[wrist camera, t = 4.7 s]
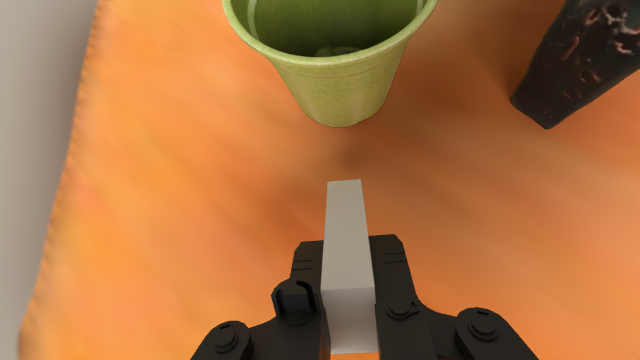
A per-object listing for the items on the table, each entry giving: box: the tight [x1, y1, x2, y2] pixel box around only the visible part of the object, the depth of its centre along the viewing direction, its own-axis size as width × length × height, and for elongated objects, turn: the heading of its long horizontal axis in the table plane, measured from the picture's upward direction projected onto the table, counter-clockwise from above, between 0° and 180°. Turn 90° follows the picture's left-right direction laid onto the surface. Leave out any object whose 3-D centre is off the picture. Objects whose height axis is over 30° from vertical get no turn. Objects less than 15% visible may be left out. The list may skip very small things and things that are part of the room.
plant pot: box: [222, 0, 438, 127], centre depth 18 cm, size 9×9×9 cm
